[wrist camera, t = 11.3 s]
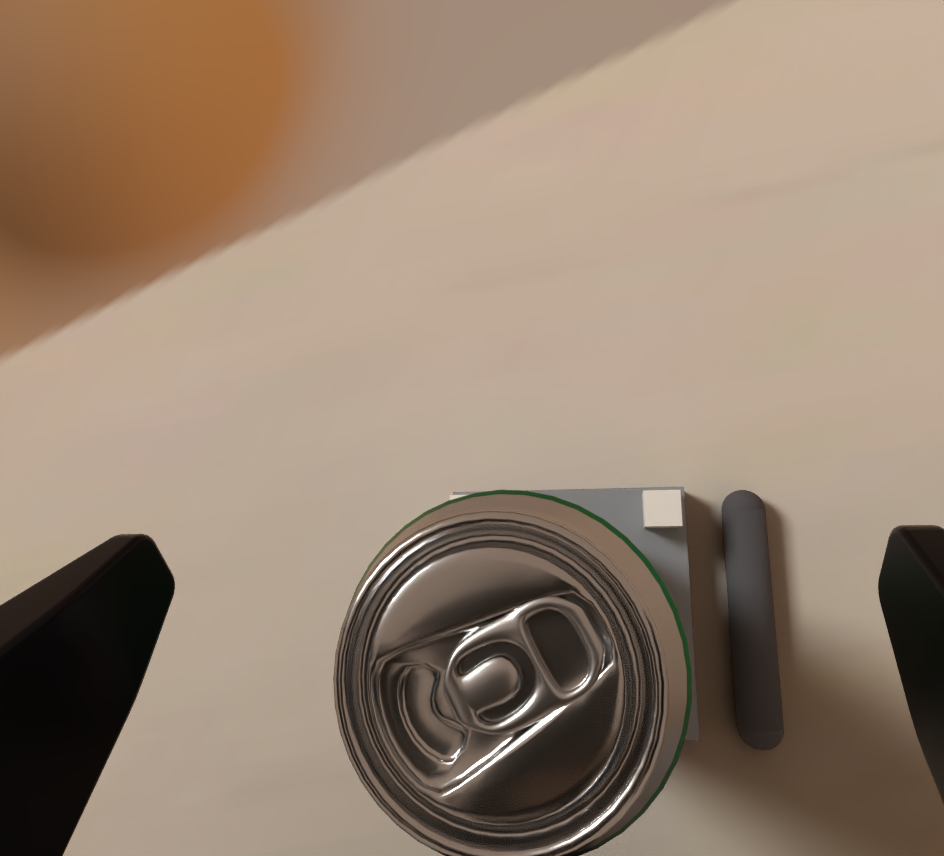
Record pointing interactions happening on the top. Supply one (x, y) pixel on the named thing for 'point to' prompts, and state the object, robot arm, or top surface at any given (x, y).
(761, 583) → the dark grey rod
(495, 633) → the soda can
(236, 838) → the top surface
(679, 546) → the switch plate
